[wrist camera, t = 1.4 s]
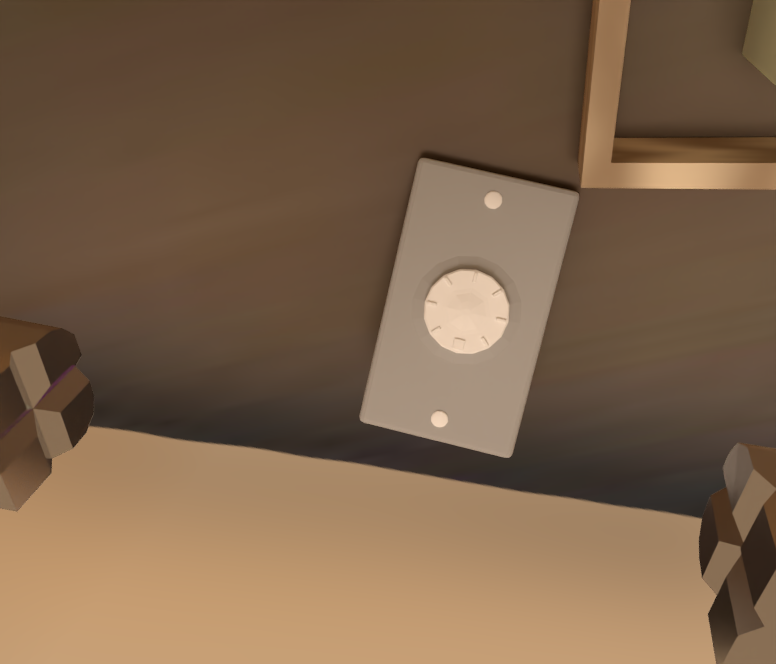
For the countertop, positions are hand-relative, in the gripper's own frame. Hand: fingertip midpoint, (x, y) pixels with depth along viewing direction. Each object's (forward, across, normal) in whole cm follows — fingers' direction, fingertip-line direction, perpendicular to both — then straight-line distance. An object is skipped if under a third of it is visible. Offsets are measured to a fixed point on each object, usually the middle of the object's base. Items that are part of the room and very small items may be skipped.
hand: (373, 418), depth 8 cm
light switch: (+28, -1, -14) cm, 32 cm away
